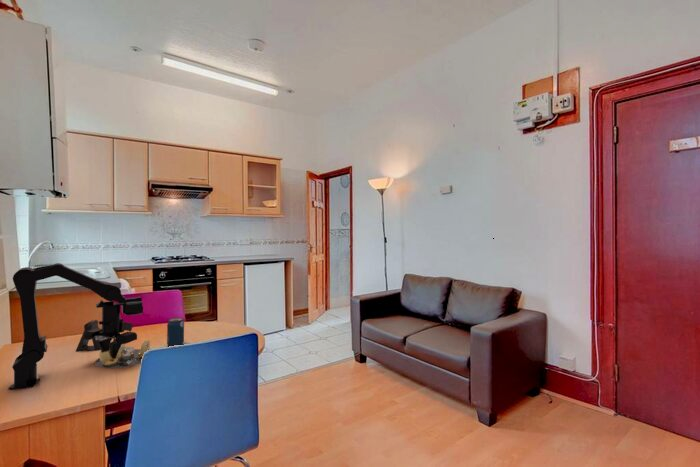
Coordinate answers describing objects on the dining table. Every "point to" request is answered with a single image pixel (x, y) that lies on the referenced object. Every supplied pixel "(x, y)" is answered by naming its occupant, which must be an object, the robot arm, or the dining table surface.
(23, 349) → the robot arm
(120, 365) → the levelling base
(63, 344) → the dining table surface
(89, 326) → the phone stand
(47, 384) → the dining table surface
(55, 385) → the dining table surface
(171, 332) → the soda can
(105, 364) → the wing knob
